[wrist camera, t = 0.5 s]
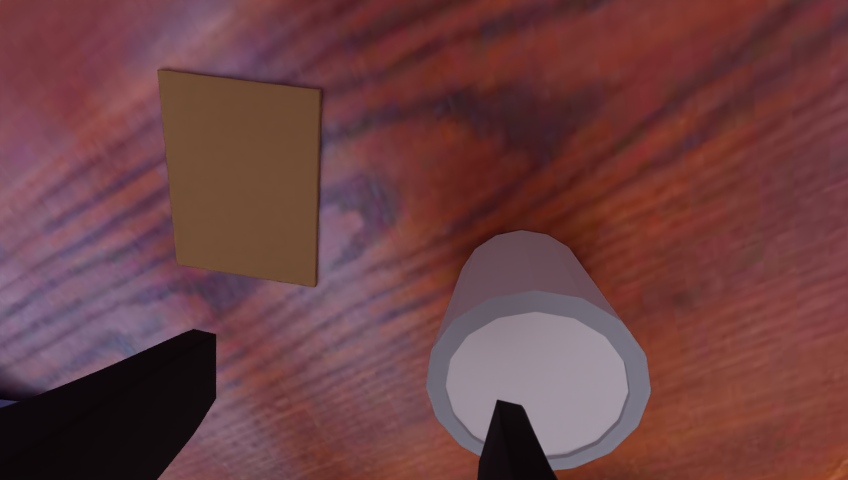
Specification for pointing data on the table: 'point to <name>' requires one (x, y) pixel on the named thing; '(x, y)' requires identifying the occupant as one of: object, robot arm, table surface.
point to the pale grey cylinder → (536, 352)
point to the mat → (243, 175)
